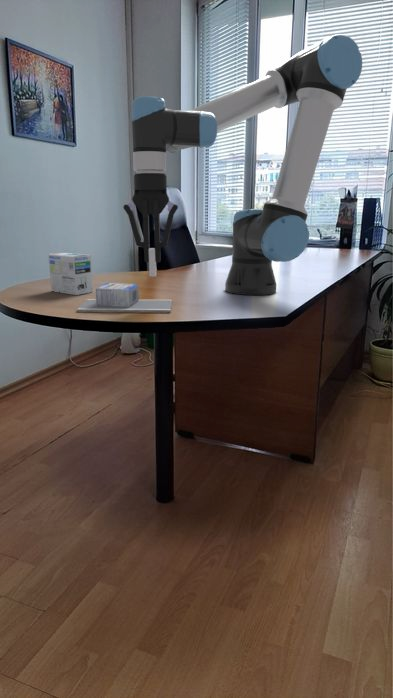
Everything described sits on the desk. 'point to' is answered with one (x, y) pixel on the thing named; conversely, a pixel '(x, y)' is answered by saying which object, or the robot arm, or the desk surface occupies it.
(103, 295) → the medicine box
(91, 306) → the mat
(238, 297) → the desk surface
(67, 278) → the light bulb box
